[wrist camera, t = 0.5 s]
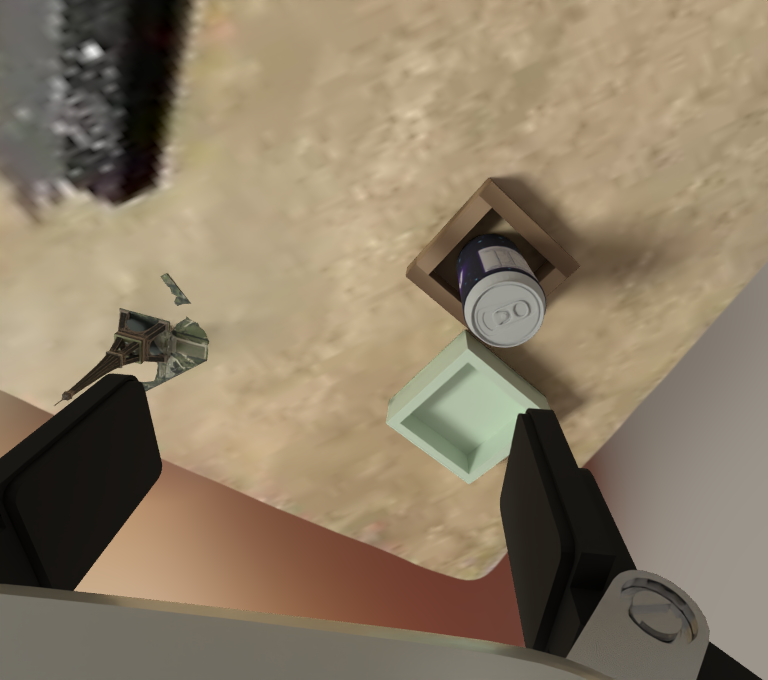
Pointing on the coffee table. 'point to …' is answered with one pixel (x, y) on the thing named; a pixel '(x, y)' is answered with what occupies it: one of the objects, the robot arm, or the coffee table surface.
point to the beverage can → (499, 292)
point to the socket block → (462, 223)
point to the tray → (463, 408)
